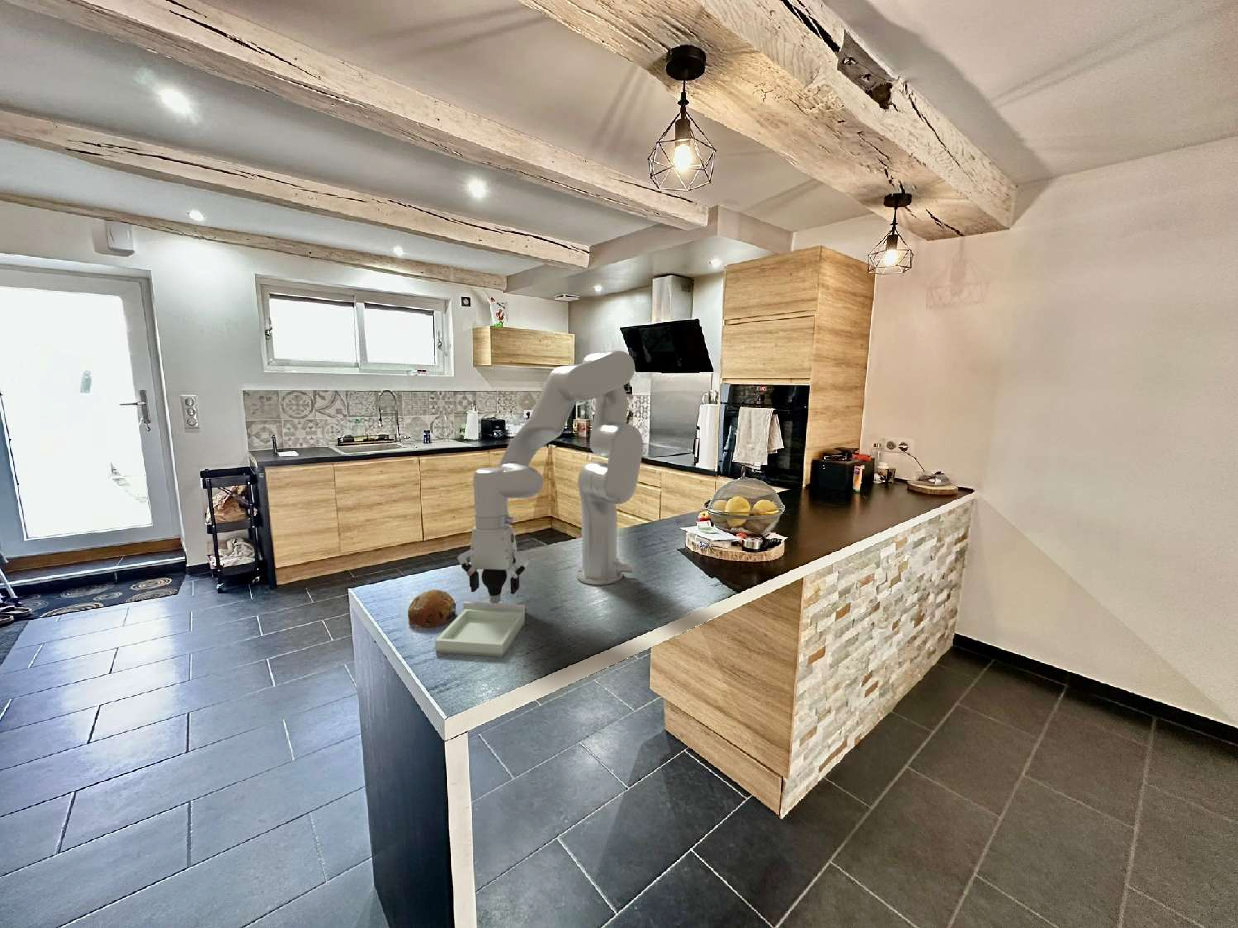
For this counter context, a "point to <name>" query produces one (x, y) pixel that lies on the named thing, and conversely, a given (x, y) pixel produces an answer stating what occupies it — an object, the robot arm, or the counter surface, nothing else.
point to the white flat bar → (494, 606)
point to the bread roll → (432, 609)
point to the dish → (480, 633)
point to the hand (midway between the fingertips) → (494, 590)
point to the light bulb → (494, 583)
